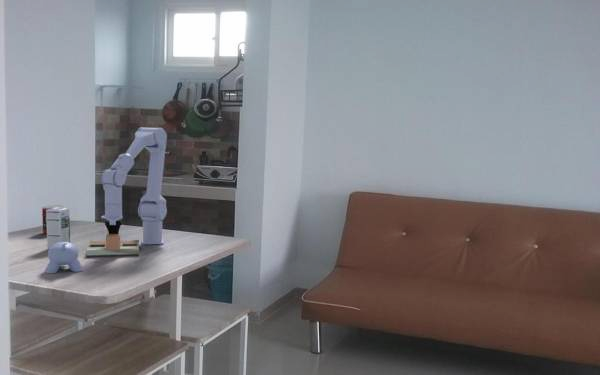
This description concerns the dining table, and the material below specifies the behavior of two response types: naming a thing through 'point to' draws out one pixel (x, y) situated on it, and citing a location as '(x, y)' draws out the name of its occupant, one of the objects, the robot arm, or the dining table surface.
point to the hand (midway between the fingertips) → (113, 241)
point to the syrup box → (57, 226)
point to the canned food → (45, 215)
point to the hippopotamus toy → (63, 257)
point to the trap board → (125, 249)
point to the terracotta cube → (112, 241)
